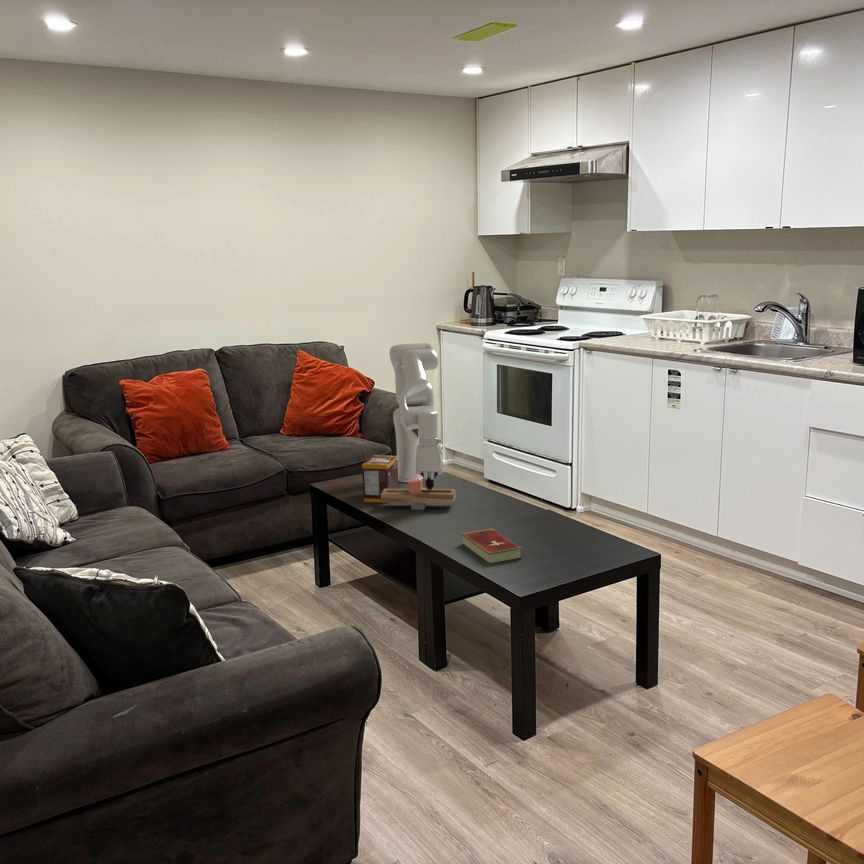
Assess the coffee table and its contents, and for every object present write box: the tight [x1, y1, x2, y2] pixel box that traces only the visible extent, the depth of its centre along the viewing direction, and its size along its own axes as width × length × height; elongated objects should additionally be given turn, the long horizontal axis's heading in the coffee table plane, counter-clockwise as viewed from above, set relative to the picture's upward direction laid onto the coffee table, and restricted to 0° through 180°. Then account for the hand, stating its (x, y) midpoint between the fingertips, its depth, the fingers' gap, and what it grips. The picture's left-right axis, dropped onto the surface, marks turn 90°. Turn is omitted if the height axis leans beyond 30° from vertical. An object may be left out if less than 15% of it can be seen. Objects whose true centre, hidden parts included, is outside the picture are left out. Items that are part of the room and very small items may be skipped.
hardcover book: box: [460, 528, 523, 564], centre depth 282 cm, size 12×21×4 cm, turn 22°
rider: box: [408, 479, 423, 493], centre depth 330 cm, size 6×4×6 cm
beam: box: [381, 487, 457, 511], centre depth 331 cm, size 8×28×6 cm, turn 83°
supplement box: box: [361, 454, 400, 504], centre depth 345 cm, size 10×15×16 cm
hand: (429, 488), depth 329 cm, fingers closed
